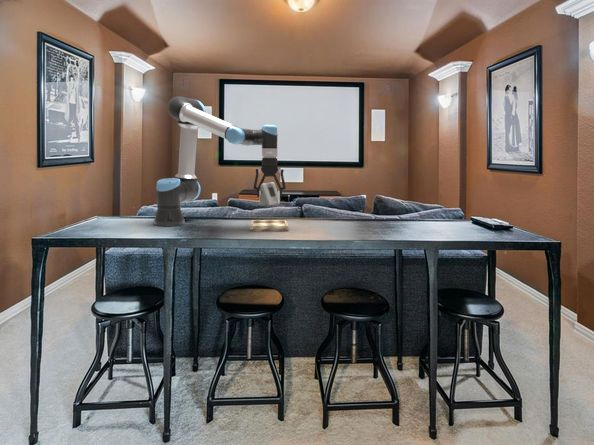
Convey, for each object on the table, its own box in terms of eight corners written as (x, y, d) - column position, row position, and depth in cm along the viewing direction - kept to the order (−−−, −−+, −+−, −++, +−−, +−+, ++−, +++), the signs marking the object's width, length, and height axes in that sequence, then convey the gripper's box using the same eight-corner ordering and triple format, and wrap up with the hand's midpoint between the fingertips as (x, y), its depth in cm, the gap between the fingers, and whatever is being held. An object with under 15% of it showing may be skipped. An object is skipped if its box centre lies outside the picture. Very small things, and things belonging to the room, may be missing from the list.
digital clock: (269, 206, 206) (269, 183, 205) (253, 205, 210) (253, 182, 209) (285, 203, 220) (286, 182, 219) (270, 202, 224) (270, 181, 223)
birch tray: (250, 231, 207) (250, 225, 206) (251, 224, 226) (251, 220, 226) (288, 231, 208) (288, 226, 208) (286, 225, 228) (286, 220, 227)
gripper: (247, 157, 208) (247, 204, 211) (291, 157, 209) (291, 204, 212) (248, 157, 215) (248, 202, 218) (290, 157, 217) (290, 202, 220)
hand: (269, 203), depth 215 cm, fingers closed on digital clock, 8 cm apart
